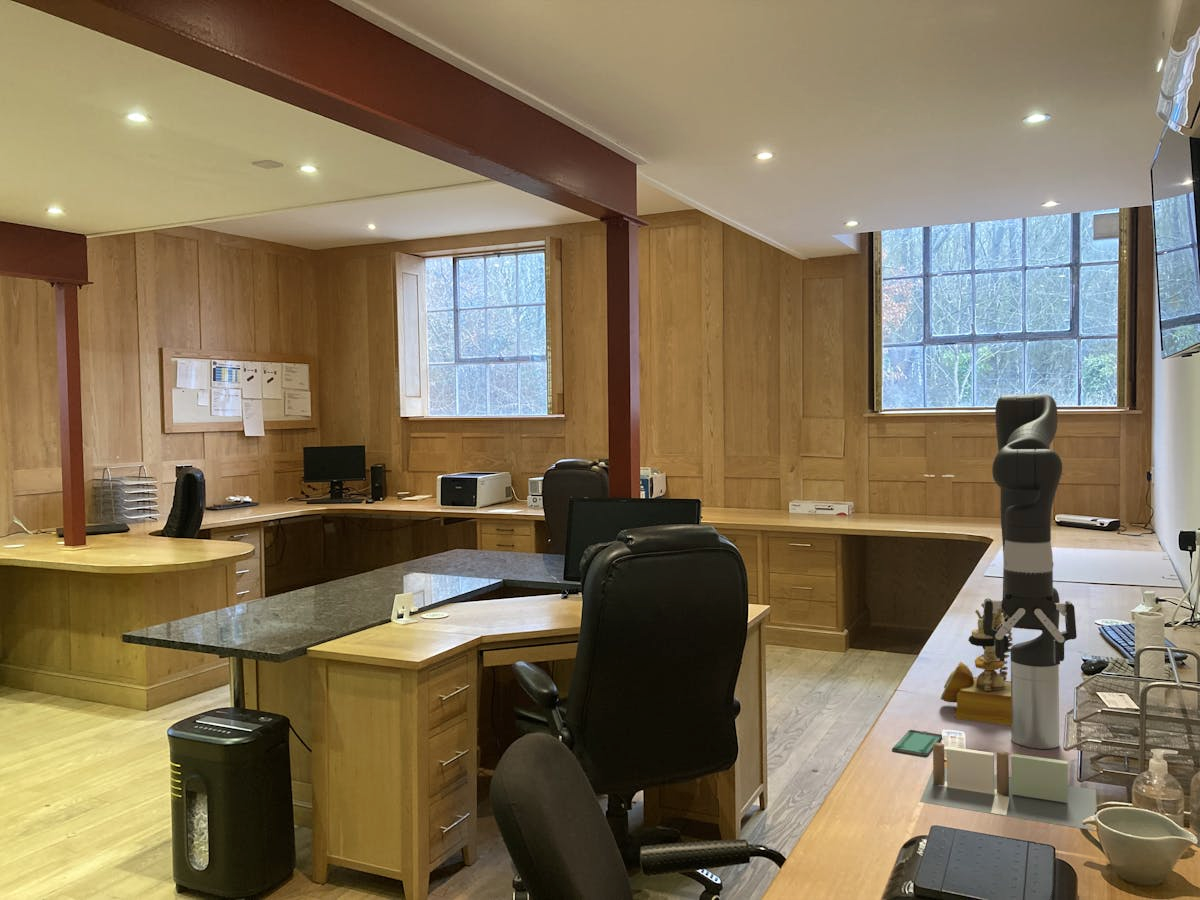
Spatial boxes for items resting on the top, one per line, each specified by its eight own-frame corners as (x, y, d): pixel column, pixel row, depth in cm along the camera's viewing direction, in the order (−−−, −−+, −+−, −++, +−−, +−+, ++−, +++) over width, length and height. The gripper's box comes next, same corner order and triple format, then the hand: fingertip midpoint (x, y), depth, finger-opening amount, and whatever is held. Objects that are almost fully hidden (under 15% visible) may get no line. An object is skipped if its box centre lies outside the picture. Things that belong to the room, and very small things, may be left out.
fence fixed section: (934, 780, 173) (933, 742, 173) (1009, 792, 167) (1008, 752, 167) (932, 784, 171) (932, 745, 171) (1008, 796, 165) (1008, 755, 165)
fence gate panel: (1011, 794, 165) (1011, 756, 165) (1012, 791, 166) (1011, 753, 166) (1067, 802, 161) (1067, 763, 161) (1067, 799, 162) (1067, 761, 162)
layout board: (934, 767, 180) (934, 765, 180) (1095, 791, 167) (1095, 788, 167) (919, 803, 164) (919, 800, 164) (1097, 833, 151) (1097, 830, 151)
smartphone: (943, 733, 198) (927, 754, 185) (943, 739, 198) (927, 760, 185) (908, 728, 202) (890, 748, 189) (908, 734, 202) (890, 754, 189)
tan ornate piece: (957, 683, 238) (956, 588, 238) (1032, 692, 229) (1031, 593, 228) (929, 722, 208) (928, 613, 207) (1014, 734, 199) (1013, 620, 198)
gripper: (1071, 564, 156) (1071, 658, 156) (980, 562, 160) (981, 653, 161) (1078, 572, 149) (1079, 670, 149) (984, 569, 153) (985, 665, 154)
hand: (1028, 661), depth 155 cm, fingers open, 8 cm apart
